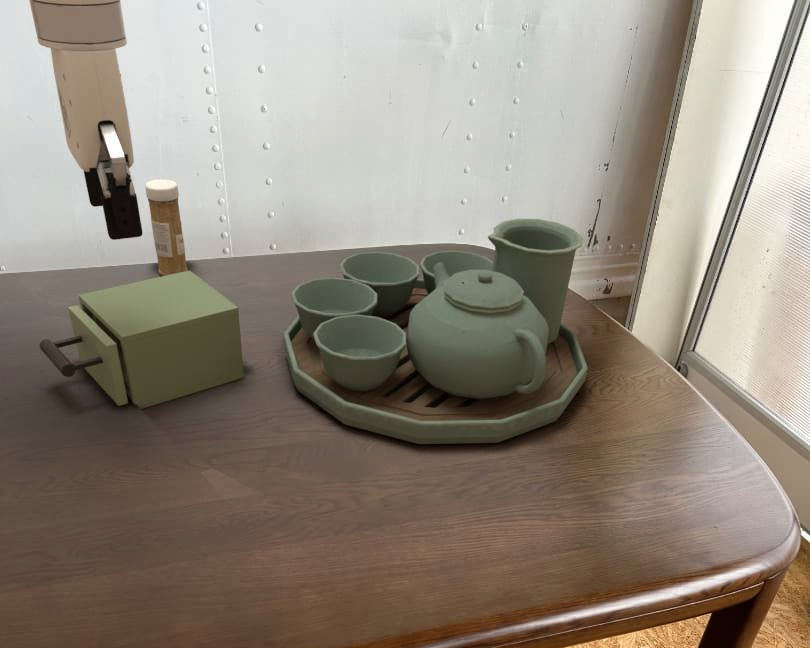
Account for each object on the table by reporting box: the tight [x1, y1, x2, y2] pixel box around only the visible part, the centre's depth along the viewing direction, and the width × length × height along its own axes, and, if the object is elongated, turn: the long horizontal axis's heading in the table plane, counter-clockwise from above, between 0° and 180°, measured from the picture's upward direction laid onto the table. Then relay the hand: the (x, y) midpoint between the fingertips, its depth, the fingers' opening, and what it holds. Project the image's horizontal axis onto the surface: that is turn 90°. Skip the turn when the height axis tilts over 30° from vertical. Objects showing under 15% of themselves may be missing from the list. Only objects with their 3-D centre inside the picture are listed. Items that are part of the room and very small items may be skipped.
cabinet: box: [78, 269, 245, 410], centre depth 98 cm, size 15×13×10 cm
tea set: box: [282, 218, 589, 445], centre depth 101 cm, size 40×40×16 cm
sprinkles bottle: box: [144, 178, 189, 277], centre depth 119 cm, size 5×5×13 cm
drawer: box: [39, 304, 129, 407], centre depth 95 cm, size 18×11×8 cm, turn 128°
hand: (115, 220), depth 81 cm, fingers open, 9 cm apart
